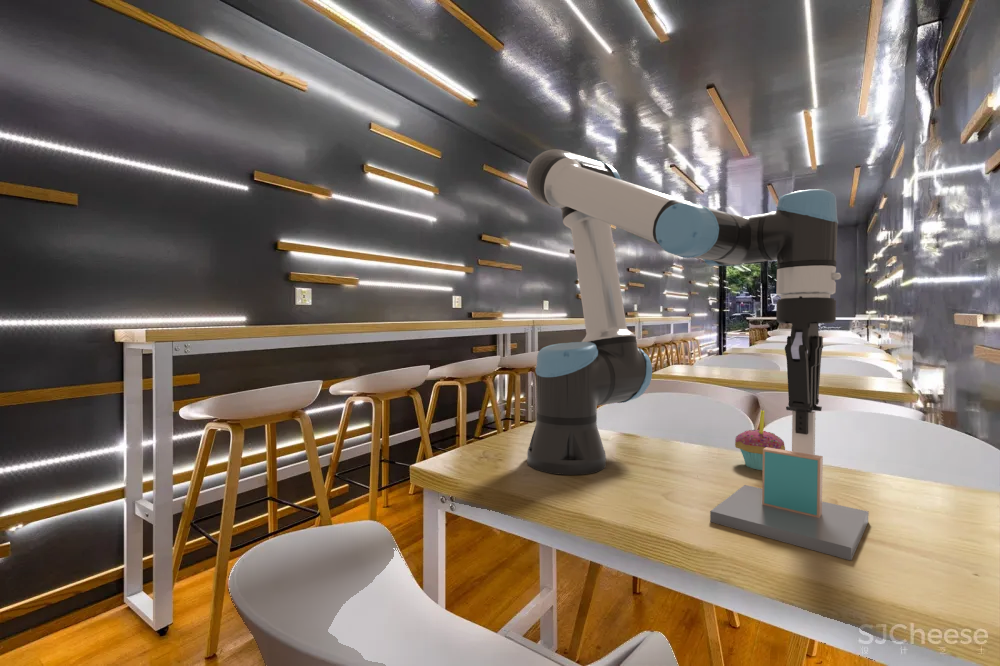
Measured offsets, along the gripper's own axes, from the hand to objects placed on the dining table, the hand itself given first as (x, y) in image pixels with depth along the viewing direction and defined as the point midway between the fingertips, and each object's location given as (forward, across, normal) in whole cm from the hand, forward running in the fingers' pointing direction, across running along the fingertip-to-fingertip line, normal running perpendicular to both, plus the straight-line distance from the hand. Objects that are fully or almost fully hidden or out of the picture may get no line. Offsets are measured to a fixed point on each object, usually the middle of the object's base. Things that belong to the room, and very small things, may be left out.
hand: (803, 454), depth 73 cm
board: (+8, -8, 0) cm, 11 cm away
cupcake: (+8, +17, +11) cm, 22 cm away
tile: (+6, -7, 0) cm, 9 cm away
